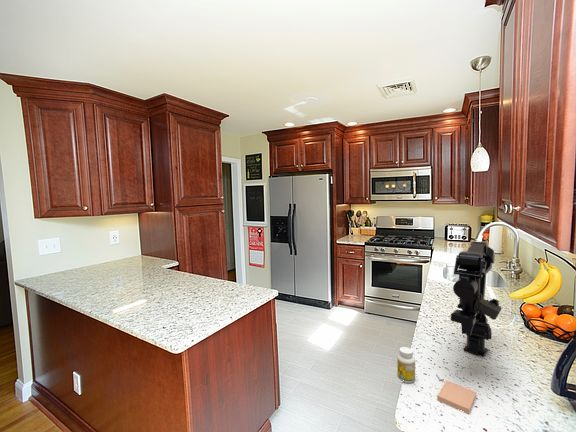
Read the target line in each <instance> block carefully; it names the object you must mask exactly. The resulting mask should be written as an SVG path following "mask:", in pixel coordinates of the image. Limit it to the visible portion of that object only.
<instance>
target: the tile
mask: <svg viewBox="0 0 576 432" xmlns="http://www.w3.org/2000/svg"><path fill="white" fill-rule="evenodd" d="M476 398H477V391H475V390H472V389H470V388H467V387H465V386H462V385H459V384H457V383H456V382H455V383H454V382H452V381H449V380H445V382H444V384H442V387H441V388H440V391H439V392H438V394H437V398H436V400H437V401H438V402H440V403H443V404H444V405H447V406H449V405H450V406H449V407H451V406H452V408H453V407H454V409H455V410H458V409H459V410H458V411H460V410H462V411H464V412H463V413H465V412H466V413H465V414H467V415H470V414H471V410H472V409H473V407H472V406H474V404H475V402H474V401H476ZM471 408H472V409H471ZM462 411H461V412H462Z"/></svg>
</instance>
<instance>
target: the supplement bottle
mask: <svg viewBox="0 0 576 432" xmlns="http://www.w3.org/2000/svg"><path fill="white" fill-rule="evenodd" d="M396 358H397V362H396V363H397V378H398V379H399V381H401V382H403V383H406V384H412V383H414V382H415V381H416V359H415V356H414V351H413V349H412V348H410V347H406V346H401V347H400V348H399V353H398V355H397V357H396ZM403 380H404V381H403Z"/></svg>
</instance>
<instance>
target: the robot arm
mask: <svg viewBox="0 0 576 432" xmlns="http://www.w3.org/2000/svg"><path fill="white" fill-rule="evenodd" d="M495 258H496V257H495V250H494V249H492V248H491V247H490V246H489V245H488V242H485V241H484V242H483V241H471V242H470V246H469V247H468V249H467V250H466V251H460V252H459V253H458V255H456V257H455V262H454V270H453V275H458V279H457V280H456V281H455V283H454V285H453V287H452V290H453V293H454V295H455V296H456V297H458V298H459V302H458V303H457V309H456V310H454V311H453V312H452V313H451V314H450V321H452V322H453V323H458V324H461V325H460V326H461V334H463V335H466V345H465V346H464V348H463V351H465V352H468V353H471V354H474V355H477V356H480V357H485V355H486V354H487V351H488V348H487V347H486V345H485V344H486V341H490V340H491V339H492V338H493V337H492V336H493V335H492V334H493V333H492V328H491V325H490V324H489V323H488V322H489V321H488V318H489V319H491V320H497V318H498V316H499V314H500V313H501V311H502V305H500V303H499V302H500V301H499V300H498V299H495V298H492V299H490V300H489V299H485V297H486V296H485V295H486V284H487V283H486V282H487V281H486V280H487V274H488V273H489V272H490V271H491V270H492V269H493V268H492V267H493V264H495ZM487 317H488V318H487Z"/></svg>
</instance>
